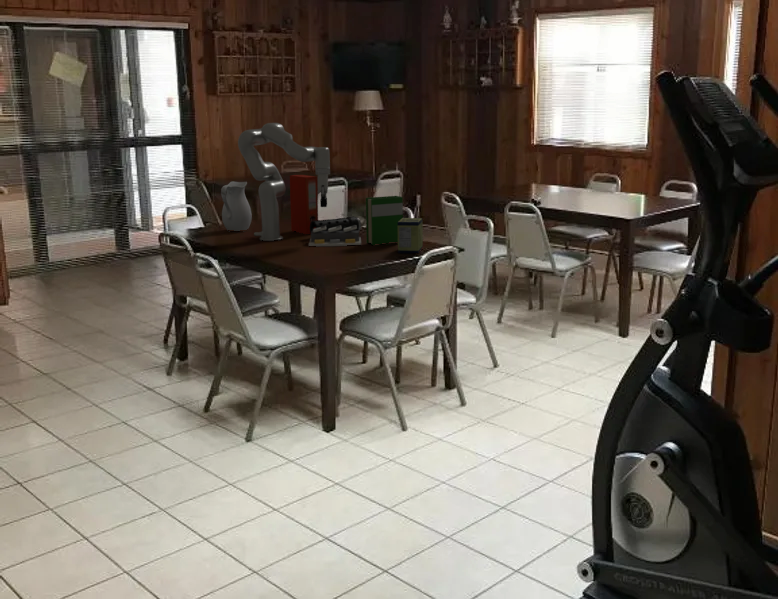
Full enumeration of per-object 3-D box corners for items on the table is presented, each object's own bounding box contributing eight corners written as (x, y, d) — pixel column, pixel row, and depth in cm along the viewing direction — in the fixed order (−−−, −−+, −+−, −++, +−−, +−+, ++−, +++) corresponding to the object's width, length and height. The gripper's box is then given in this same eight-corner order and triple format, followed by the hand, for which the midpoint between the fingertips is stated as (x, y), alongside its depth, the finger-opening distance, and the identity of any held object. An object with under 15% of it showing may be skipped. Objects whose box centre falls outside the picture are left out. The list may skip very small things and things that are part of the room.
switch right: (344, 232, 443) (343, 229, 443) (344, 230, 449) (343, 228, 448) (356, 228, 443) (356, 226, 443) (356, 227, 449) (356, 224, 448)
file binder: (303, 229, 492) (301, 174, 484) (318, 233, 478) (317, 176, 470) (291, 231, 487) (289, 175, 480) (306, 235, 473) (304, 177, 466)
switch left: (313, 232, 443) (312, 230, 442) (314, 231, 448) (313, 228, 448) (326, 229, 443) (325, 226, 442) (326, 227, 448) (325, 225, 448)
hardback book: (372, 245, 436) (371, 199, 431) (366, 243, 443) (365, 197, 437) (403, 242, 444) (402, 197, 438) (396, 240, 450) (396, 195, 445)
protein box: (422, 248, 427) (422, 217, 423) (418, 254, 412) (418, 222, 408) (402, 248, 429) (402, 217, 425) (397, 253, 414) (397, 222, 410)
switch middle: (328, 232, 443) (328, 229, 443) (329, 230, 448) (328, 228, 448) (341, 229, 443) (340, 226, 442) (341, 227, 448) (340, 224, 448)
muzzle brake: (309, 238, 463) (308, 219, 461) (353, 233, 478) (352, 215, 476) (318, 240, 455) (317, 221, 453) (362, 235, 470) (361, 216, 468)
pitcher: (232, 228, 502) (229, 180, 496) (257, 229, 497) (255, 181, 490) (211, 234, 481) (207, 184, 474) (237, 235, 475) (234, 185, 468)
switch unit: (308, 246, 436) (308, 234, 435) (310, 240, 455) (310, 228, 454) (361, 245, 437) (360, 233, 436) (360, 239, 456) (360, 227, 455)
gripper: (316, 170, 446) (317, 204, 451) (314, 173, 430) (316, 208, 434) (330, 169, 447) (331, 204, 451) (329, 172, 430) (330, 208, 434)
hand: (323, 205), depth 442 cm, fingers open, 5 cm apart
